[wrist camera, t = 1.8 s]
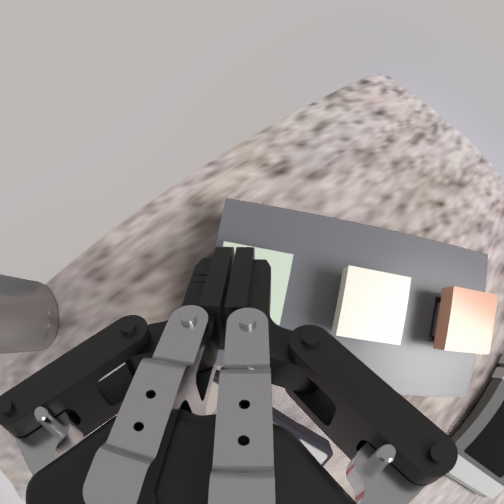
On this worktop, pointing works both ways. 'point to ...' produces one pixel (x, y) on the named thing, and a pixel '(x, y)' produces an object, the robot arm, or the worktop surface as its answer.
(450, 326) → the terracotta key
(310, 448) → the calculator
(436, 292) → the key console
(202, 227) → the worktop surface
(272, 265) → the sage key
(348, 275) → the cream key
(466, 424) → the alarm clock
